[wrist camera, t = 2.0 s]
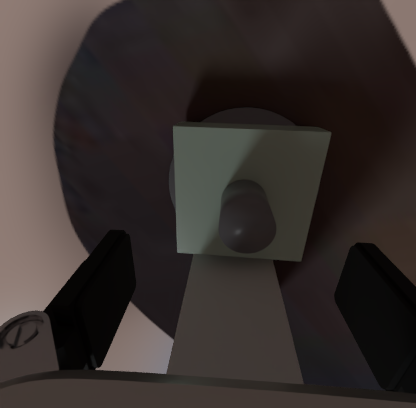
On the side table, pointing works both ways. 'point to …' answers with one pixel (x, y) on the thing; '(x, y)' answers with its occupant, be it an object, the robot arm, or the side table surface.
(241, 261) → the milk carton
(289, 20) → the side table surface
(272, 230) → the square plate with knob
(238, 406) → the robot arm
